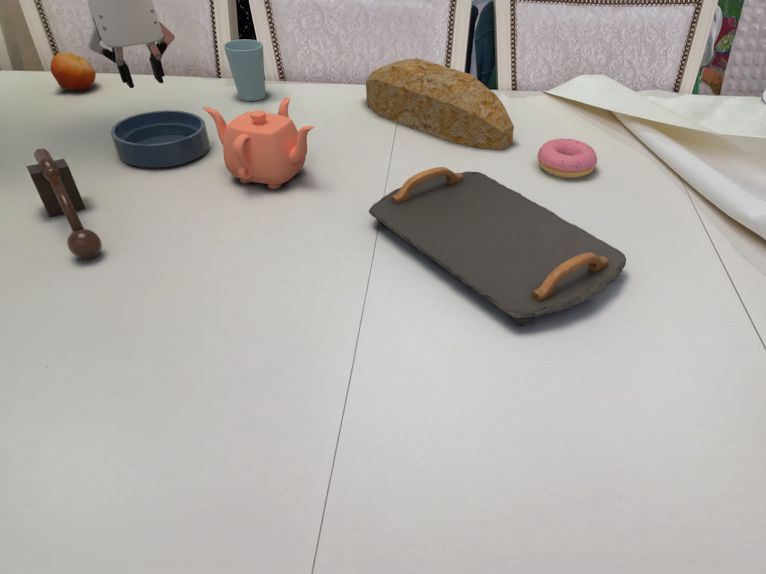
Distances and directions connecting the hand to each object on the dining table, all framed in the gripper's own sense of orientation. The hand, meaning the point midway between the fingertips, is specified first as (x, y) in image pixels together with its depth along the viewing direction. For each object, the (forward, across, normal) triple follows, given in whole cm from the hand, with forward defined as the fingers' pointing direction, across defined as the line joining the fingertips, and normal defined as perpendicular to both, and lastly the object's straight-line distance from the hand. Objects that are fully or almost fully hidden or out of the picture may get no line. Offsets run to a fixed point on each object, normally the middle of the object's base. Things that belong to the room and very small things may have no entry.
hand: (144, 82), depth 114 cm
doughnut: (+8, -57, +56) cm, 80 cm away
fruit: (+8, +8, -26) cm, 29 cm away
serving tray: (+8, -28, +70) cm, 76 cm away
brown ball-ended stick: (+8, +21, +33) cm, 40 cm away
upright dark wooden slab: (+8, +21, +26) cm, 34 cm away
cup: (+8, -21, -5) cm, 23 cm away
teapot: (+8, -11, +30) cm, 33 cm away
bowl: (+8, +2, +13) cm, 15 cm away
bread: (+8, -48, +26) cm, 55 cm away
